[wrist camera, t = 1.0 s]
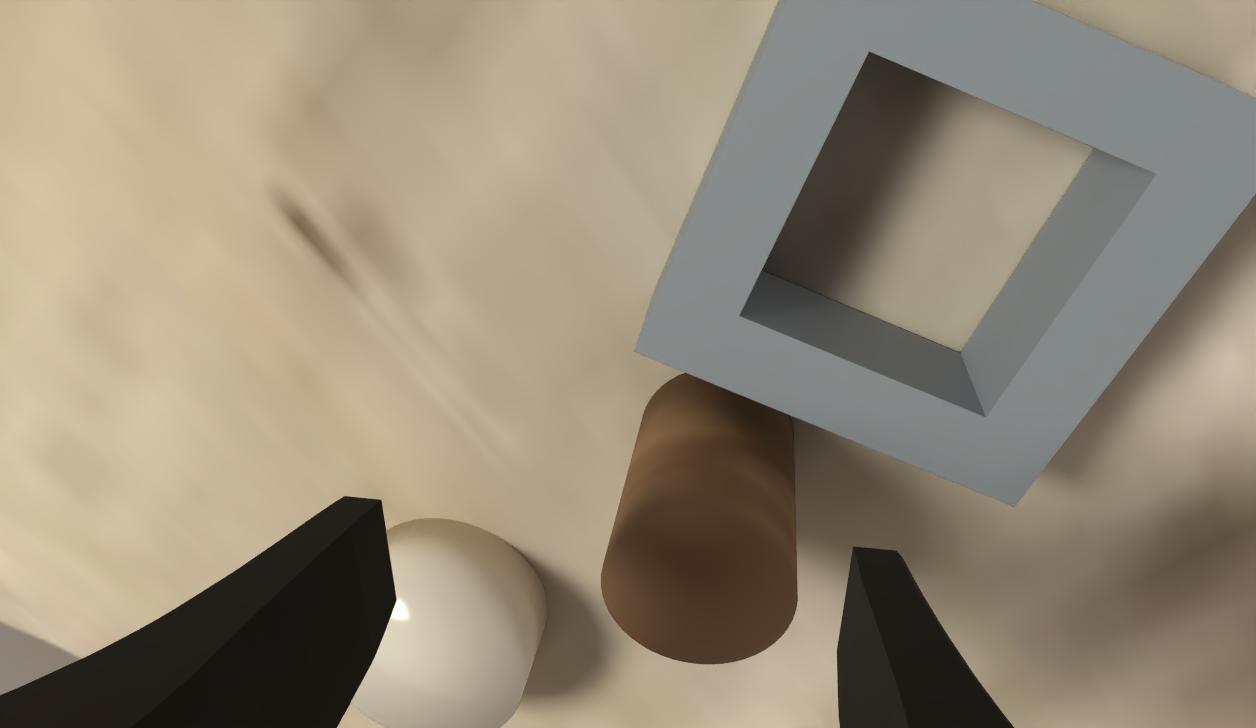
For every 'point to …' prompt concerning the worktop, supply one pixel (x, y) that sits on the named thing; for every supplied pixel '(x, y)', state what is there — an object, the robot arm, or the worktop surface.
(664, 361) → the socket board
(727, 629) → the walnut dowel
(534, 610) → the ivory rounded cylinder
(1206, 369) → the worktop surface
